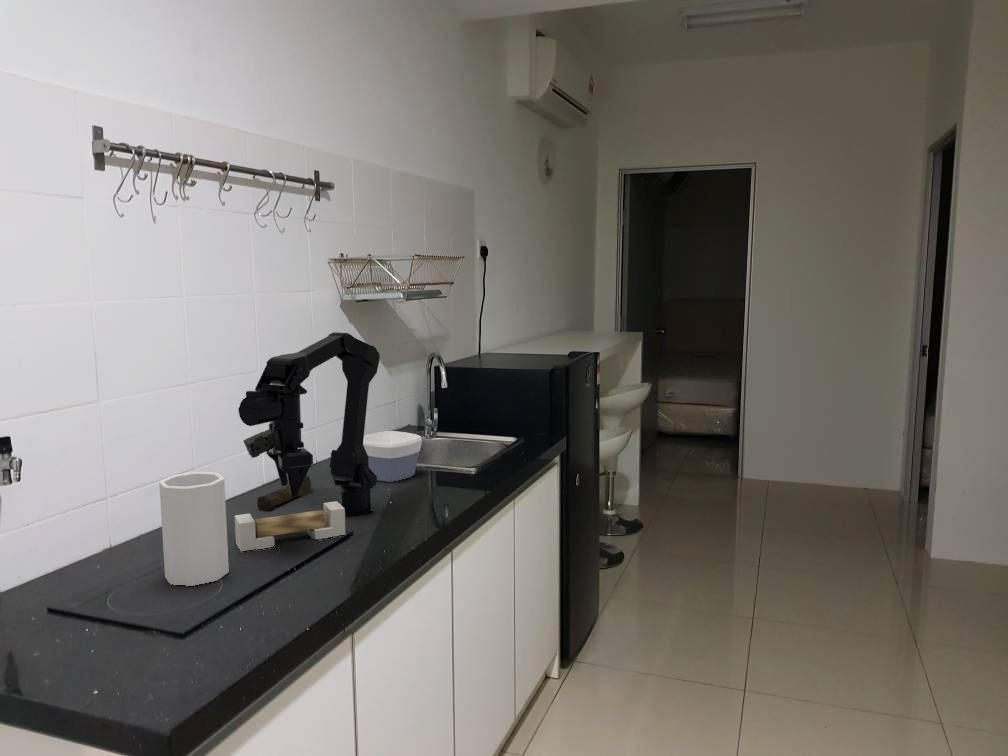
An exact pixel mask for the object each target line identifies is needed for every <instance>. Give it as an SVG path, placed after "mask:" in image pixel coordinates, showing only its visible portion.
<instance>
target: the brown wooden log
mask: <svg viewBox="0 0 1008 756" xmlns="http://www.w3.org/2000/svg"><path fill="white" fill-rule="evenodd" d="M311 490H312V480H311V477H310V476H309V475H306V476H305V478H304V481H303V483H302V485H301V487H300V490H299V492H298V495H297V496H296V497H292V496H291V493H290V489H289V485H286V486H285V487H284V486H283V487H282V488H279V489H278V490H275V491H272V492H270V493H268V494H265V495H261V496H258V497H257V500H256V502H257V503H256V506H257V507H256V508H257V509H258V510H259V511H262V512H269V511H271V510H274V509H275V507H277V506H279V505H281V504H283V503H286V502H288V501H290V500H292V499H294V498H298V497H299V498H302V497H304V496H306V495H307V494H309V493H310V492H311Z"/></svg>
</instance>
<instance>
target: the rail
mask: <svg viewBox="0 0 1008 756" xmlns="http://www.w3.org/2000/svg"><path fill="white" fill-rule="evenodd" d="M254 521H255V533H256V538H263V537H266V536H273V537H274V536H277V535H279V536H280V535H284V534H291V533H298V532H305V531H307V530H311V529H321V528H326V524H325V513H324V510H322V509H319V510H312V511H305V512H298V513H297V512H296V513H291V514H290V513H289V514H284V515H277V516H271V517H262V518H256V519H254Z"/></svg>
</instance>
